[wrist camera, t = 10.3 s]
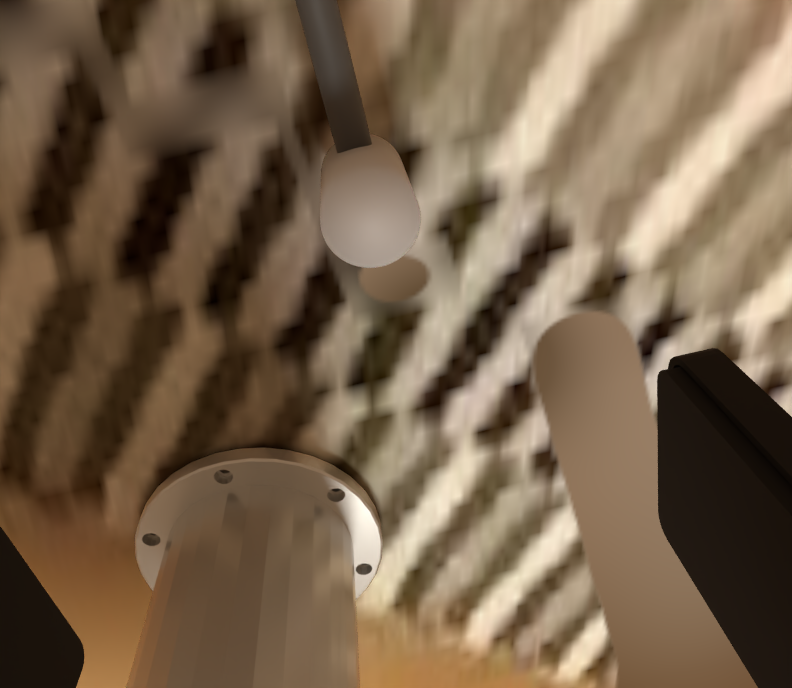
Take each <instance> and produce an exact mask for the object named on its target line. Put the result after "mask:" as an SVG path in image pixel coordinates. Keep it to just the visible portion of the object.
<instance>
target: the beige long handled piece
mask: <svg viewBox="0 0 792 688" xmlns="http://www.w3.org/2000/svg"><path fill="white" fill-rule="evenodd" d="M295 1H296V4H297V8H298V12H299V15H300V19H301V23H302V26H303V30H304V34H305V37H306V41H307V45H308V48H309V52H310V55H311V59H312V63H313V66H314V70H315V74H316V77H317V81H318V85H319V88H320V92H321V96H322V99H323V103H324V106H325V110H326V114H327V117H328V121H329V125H330V128H331V132H332V136H333V139H334V143H335V144H334V145H333V146H332V147H331V148H330V149H329V151H328V152H327V154H326V156H325V158H324V161H323V164H322V169H321V201H320V226H321V231H322V235H323V237H324V240H325V242H326V243H327V245H328V247H329V248H330V249H331V251H332V252H333V253H334V254H335V255H336V256H338V257H339V258H340V259H342V260H343V261H345V262H347V263H349V264H351V265H355V266H358V267H364V268H375V267H381V266H385V265H388V264H390V263H393V262H395V261H396V260H398V259H400V258H401V257H402V256H403V255H405V254H406V253H407V252H408V251H409V249H410V248H411V247H412V245H413V244H414V242H415V240H416V238H417V236H418V233H419V229H420V223H421V214H420V208H419V204H418V201H417V199H416V196H415V194H414V191H413V189H412V186H411V184H410V181H409V179H408V176H407V173H406V171H405V168H404V166H403V163H402V161H401V158H400V156H399V154H398V153H397V151H396V150H395V148H394V147H393V146H392V145H391V144H390V143H389V142H387V141H386V140H385V139H383V138H381V137H379V136H376V135H373V134H370V133H369V129H368V125H367V121H366V117H365V113H364V109H363V105H362V101H361V97H360V93H359V88H358V84H357V80H356V76H355V72H354V68H353V64H352V60H351V56H350V52H349V48H348V44H347V40H346V36H345V31H344V27H343V23H342V19H341V15H340V11H339V7H338V3H337V0H295Z"/></svg>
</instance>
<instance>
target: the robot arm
mask: <svg viewBox="0 0 792 688" xmlns="http://www.w3.org/2000/svg"><path fill="white" fill-rule="evenodd" d="M657 398H658V513H659V519H660V523H661V526H662V529H663V532H664V534H665V536H666V538H667V540H668V542H669V543H670V545H671V546H672V548H673V549H674V551H675V553H676V554H677V556H678V558H679V559H680V561H681V563H682V564H683V566H684V568H685V569H686V571H687V572H688V574H689V576H690V577H691V579H692V581H693V582H694V584H695V586H696V587H697V589H698V590H699V592H700V594H701V595H702V597H703V598H704V600H705V602H706V603H707V605H708V607H709V608H710V610H711V612H712V613H713V615H714V616H715V618H716V620H717V621H718V623H719V625H720V626H721V628H722V629H723V631H724V633H725V634H726V636H727V638H728V639H729V641H730V643H731V644H732V646H733V647H734V649H735V651H736V652H737V654H738V656H739V657H740V659H741V660H742V662H743V664H744V665H745V667H746V669H747V670H748V672H749V673H750V675H751V677H752V678H753V680H754V682H755V683H756V685H757V686H758V688H792V417H791V416H790V415H789V414H788V413H787V412H786V411H785V410H784V409H783V408H782V407H780V406H779V405H778V404H777V403H776V402H775V401H774V400H773V399H772V398H771V397H770V396H769V395H768V394H767V393H765V392H764V391H763V390H762V389H761V388H760V387H759V386H758V385H757V384H756V383H755V382H754V381H753V380H752V379H750V378H749V377H748V376H747V375H746V374H745V373H744V372H743V371H742V370H741V369H740V368H739V367H738V366H737V365H735V364H734V363H733V362H732V361H731V360H730V359H729V358H728V357H727V356H726V355H725V354H724V353H723V352H721V351H720V350H718V349H715V348H711V349H707V350H703V351H698V352H694V353H689V354H685V355H680V356H676V357H673V358H672V359H671V360H670V362H669V366H668V369H667V370H662V371H660V372H659V374H658V380H657ZM382 545H383V540H382V531H381V522H380V519H379V516H378V513H377V510H376V507H375V505H374V504H373V502H372V501H371V499H370V497H369V496H368V494H367V493H366V491H365V490H364V489H363V488H362V487H361V486H360V485H359V484H358V483H357V482H356V481H355V480H354V479H353V478H352V477H350V476H349V475H347V474H346V473H344V472H343V471H341V470H340V469H338V468H337V467H335V466H334V465H332V464H330V463H327V462H325V461H323V460H320V459H318V458H316V457H313V456H310V455H306V454H303V453H299V452H295V451H291V450H284V449H274V448H264V447H263V448H243V449H235V450H230V451H225V452H220V453H215V454H212V455H209V456H207V457H204V458H201V459H199V460H196V461H193V462H191V463H189V464H188V465H186V466H184V467H183V468H181V469H179V470H178V471H176V472H174V473H173V474H171V475H170V476H169V477H168V478H167V479H166V480H165V481H164V482H163V483H161V484H160V485H159V486H158V487H157V488H156V490H155V491H154V493H153V494H152V495H151V497H150V498H149V500H148V501H147V503H146V505H145V507H144V510H143V513H142V515H141V518H140V520H139V523H138V526H137V530H136V534H135V557H136V560H137V563H138V566H139V569H140V572H141V575H142V576H143V578H144V579H145V581H146V582H147V584H148V586H149V587H150V589H151V590H152V591H153V593H152V597H151V601H150V604H149V608H148V611H147V615H146V618H145V622H144V626H143V629H142V633H141V636H140V640H139V643H138V647H137V651H136V654H135V658H134V661H133V665H132V668H131V672H130V676H129V679H128V683H127V686H126V688H360V677H359V656H358V634H357V613H356V599H357V598H358V597H359V596H360V595H361V594H362V593H363V592H364V591H365V590H366V589H367V588H368V586H369V585H370V583H371V581H372V580H373V578H374V577H375V575H376V573H377V570H378V567H379V564H380V561H381V558H382ZM83 664H84V649H83V645H82V643H81V641H80V639H79V637H78V636H77V635H76V633H75V632H74V630H73V629H72V627H71V626H70V625H69V623H68V622H67V620H66V619H65V617H64V616H63V615H62V613H61V612H60V610H59V609H58V608H57V606H56V605H55V603H54V602H53V600H52V599H51V598H50V596H49V595H48V593H47V592H46V590H45V589H44V588H43V586H42V585H41V583H40V582H39V580H38V579H37V578H36V576H35V575H34V573H33V572H32V570H31V569H30V568H29V566H28V565H27V563H26V562H25V561H24V559H23V558H22V556H21V555H20V553H19V552H18V551H17V549H16V548H15V546H14V545H13V543H12V542H11V541H10V539H9V538H8V536H7V535H6V533H5V532H4V531H3V529H2V528H1V527H0V688H76V686H77V683H78V680H79V677H80V674H81V671H82V668H83Z"/></svg>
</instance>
